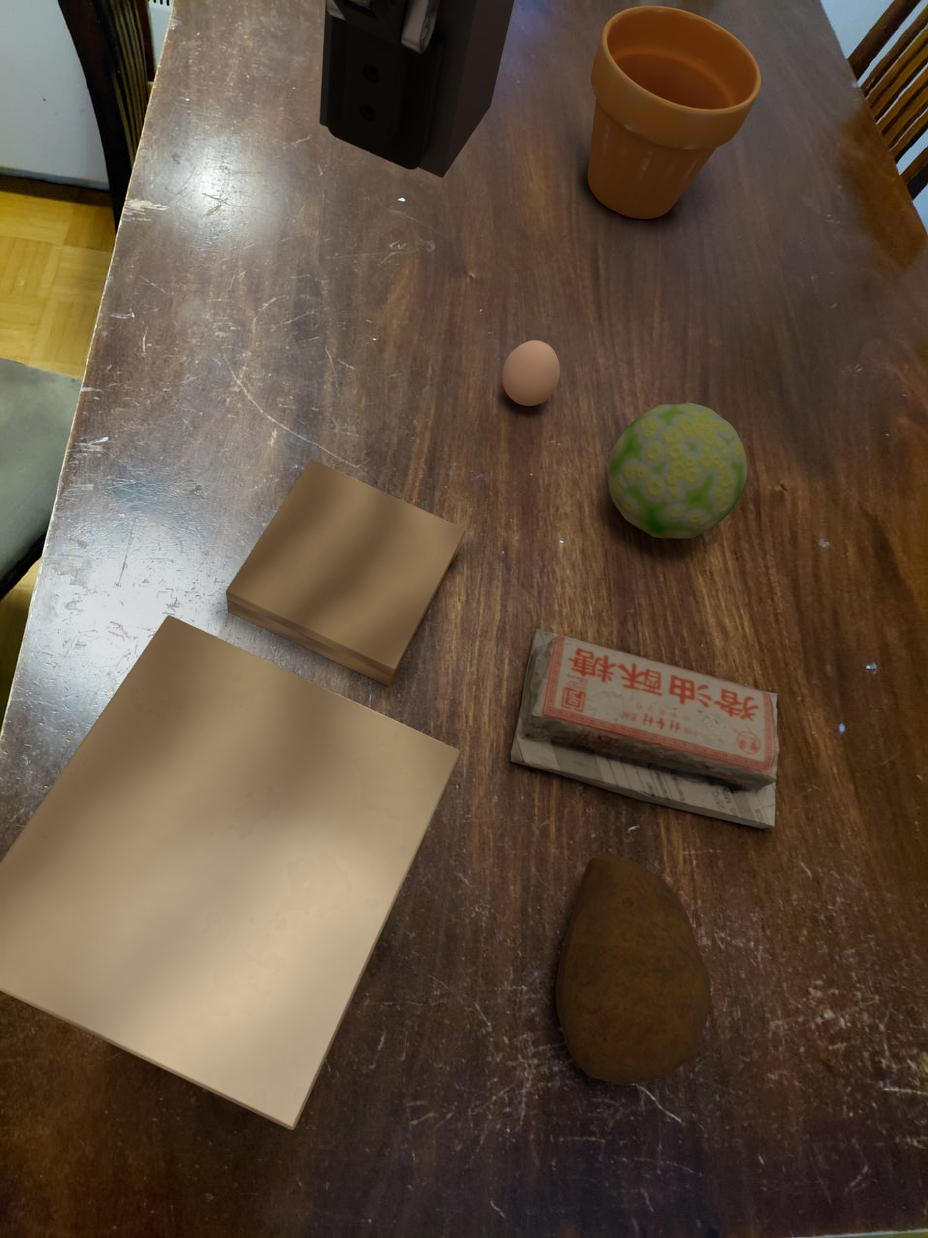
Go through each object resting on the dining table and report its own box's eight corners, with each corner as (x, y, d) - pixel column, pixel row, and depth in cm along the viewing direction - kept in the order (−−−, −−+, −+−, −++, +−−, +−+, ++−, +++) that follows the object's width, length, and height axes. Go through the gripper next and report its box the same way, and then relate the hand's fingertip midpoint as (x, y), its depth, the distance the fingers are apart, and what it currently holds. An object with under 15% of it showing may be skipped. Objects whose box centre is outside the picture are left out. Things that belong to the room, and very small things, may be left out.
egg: (496, 415, 73) (512, 366, 68) (495, 372, 75) (511, 321, 70) (550, 421, 74) (570, 373, 69) (548, 379, 76) (567, 329, 71)
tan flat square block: (227, 611, 61) (225, 590, 59) (309, 482, 67) (311, 457, 64) (389, 687, 61) (395, 669, 58) (458, 551, 67) (466, 529, 64)
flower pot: (590, 118, 92) (634, -18, 81) (717, 178, 92) (780, 50, 80) (537, 196, 86) (578, 60, 74) (674, 262, 85) (736, 135, 74)
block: (318, 124, 30) (328, -67, 25) (374, 55, 32) (393, -133, 27) (442, 179, 30) (477, -2, 25) (490, 106, 32) (531, -73, 27)
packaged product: (523, 742, 56) (548, 603, 60) (505, 766, 60) (531, 635, 65) (801, 815, 57) (805, 673, 62) (765, 834, 61) (771, 700, 66)
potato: (696, 905, 58) (761, 878, 50) (661, 1109, 52) (728, 1114, 45) (571, 860, 58) (617, 827, 50) (523, 1061, 52) (565, 1057, 45)
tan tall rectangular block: (115, 1025, 49) (-67, 959, 23) (219, 839, 55) (167, 612, 28) (283, 1106, 49) (293, 1131, 23) (371, 911, 54) (462, 750, 28)
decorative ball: (704, 579, 70) (767, 507, 61) (580, 540, 69) (624, 461, 60) (718, 479, 74) (777, 398, 65) (601, 441, 74) (645, 355, 65)
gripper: (522, -1045, 18) (405, -54, 34) (17, -1157, 10) (172, 208, 26) (866, -901, 18) (588, 26, 34) (629, -900, 10) (410, 313, 26)
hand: (408, 99), depth 30 cm, fingers closed on block, 4 cm apart
